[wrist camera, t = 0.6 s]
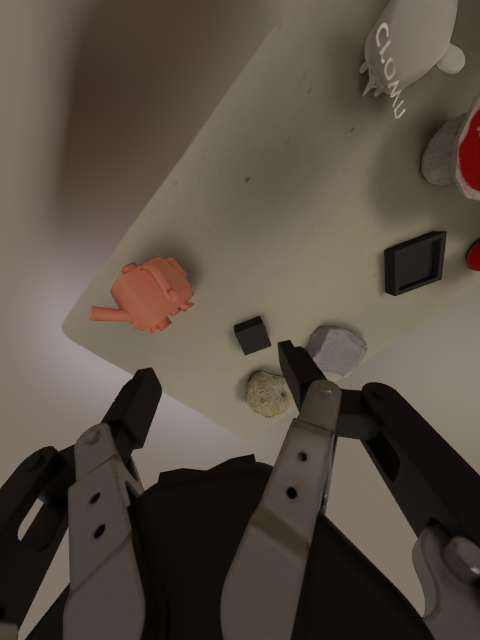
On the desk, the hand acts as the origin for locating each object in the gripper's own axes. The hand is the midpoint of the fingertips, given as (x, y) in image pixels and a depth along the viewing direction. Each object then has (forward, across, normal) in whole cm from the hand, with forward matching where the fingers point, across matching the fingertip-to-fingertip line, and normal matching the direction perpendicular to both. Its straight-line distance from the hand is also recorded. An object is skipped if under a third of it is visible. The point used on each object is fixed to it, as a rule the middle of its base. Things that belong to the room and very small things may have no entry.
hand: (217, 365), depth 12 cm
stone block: (+25, -21, +20) cm, 38 cm away
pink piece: (+18, +9, +4) cm, 21 cm away
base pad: (+24, -35, +4) cm, 43 cm away
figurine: (+24, -25, -22) cm, 41 cm away
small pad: (+24, -4, +12) cm, 28 cm away
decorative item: (+25, -5, +28) cm, 38 cm away
